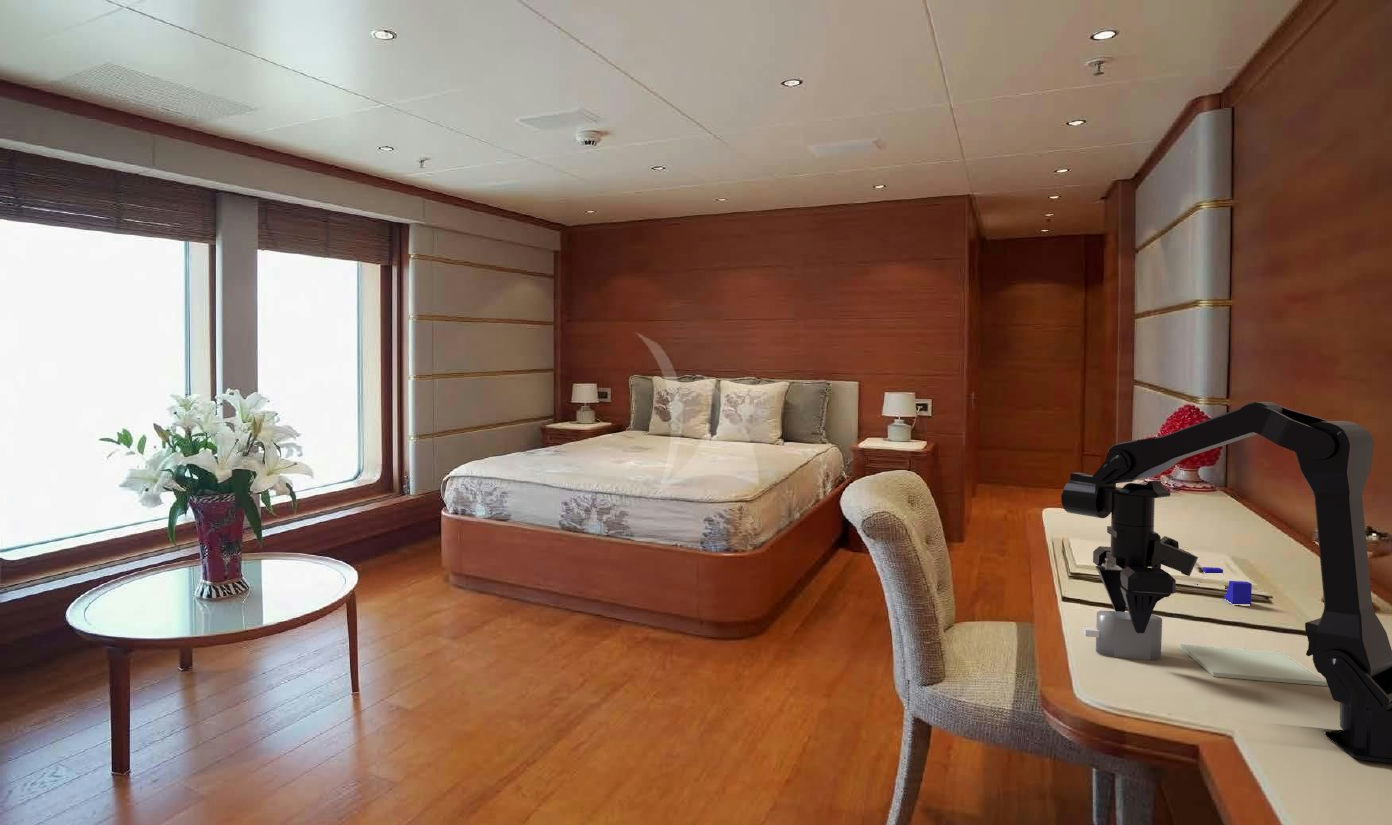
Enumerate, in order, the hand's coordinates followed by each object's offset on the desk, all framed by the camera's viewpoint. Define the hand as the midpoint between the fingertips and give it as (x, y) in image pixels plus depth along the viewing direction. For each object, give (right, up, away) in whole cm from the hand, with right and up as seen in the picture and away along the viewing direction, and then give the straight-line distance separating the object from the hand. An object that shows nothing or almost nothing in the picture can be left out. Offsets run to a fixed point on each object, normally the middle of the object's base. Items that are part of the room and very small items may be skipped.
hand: (1129, 623), depth 117 cm
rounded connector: (0, -5, 0) cm, 5 cm away
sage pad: (+15, -5, -4) cm, 17 cm away
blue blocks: (+33, -4, +27) cm, 42 cm away
